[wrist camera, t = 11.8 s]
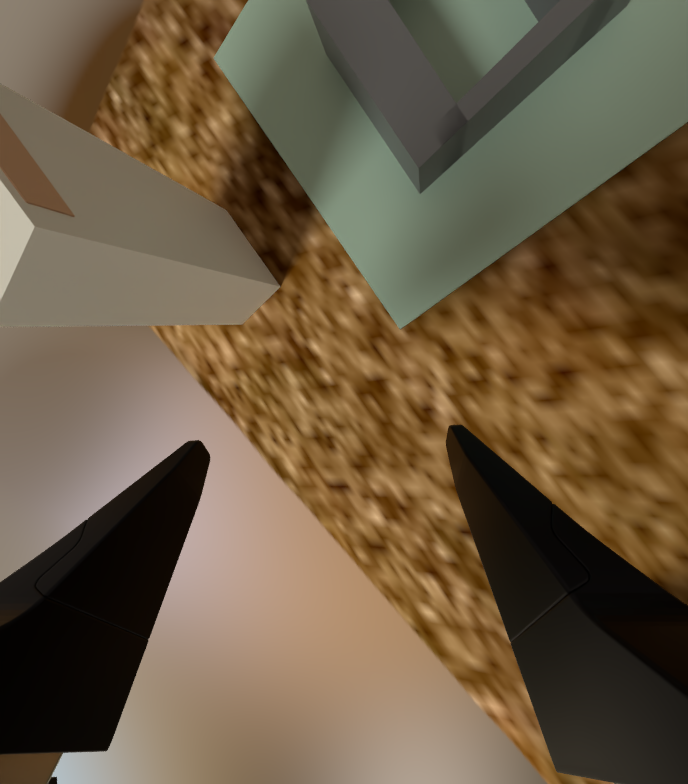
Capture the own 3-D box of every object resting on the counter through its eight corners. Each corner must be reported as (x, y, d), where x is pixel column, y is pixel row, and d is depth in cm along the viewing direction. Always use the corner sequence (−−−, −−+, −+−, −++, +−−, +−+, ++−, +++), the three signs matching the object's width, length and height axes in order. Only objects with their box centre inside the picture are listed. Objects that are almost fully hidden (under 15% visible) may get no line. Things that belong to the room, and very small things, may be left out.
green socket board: (832, 17, 10) (1023, -126, 7) (401, 328, 16) (394, 330, 13) (552, -453, 9) (617, -856, 6) (223, 70, 16) (174, 9, 13)
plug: (280, 286, 18) (35, 225, 7) (241, 324, 19) (-12, 328, 8) (226, 209, 18) (-121, 13, 6) (191, 254, 19) (-140, 159, 8)
